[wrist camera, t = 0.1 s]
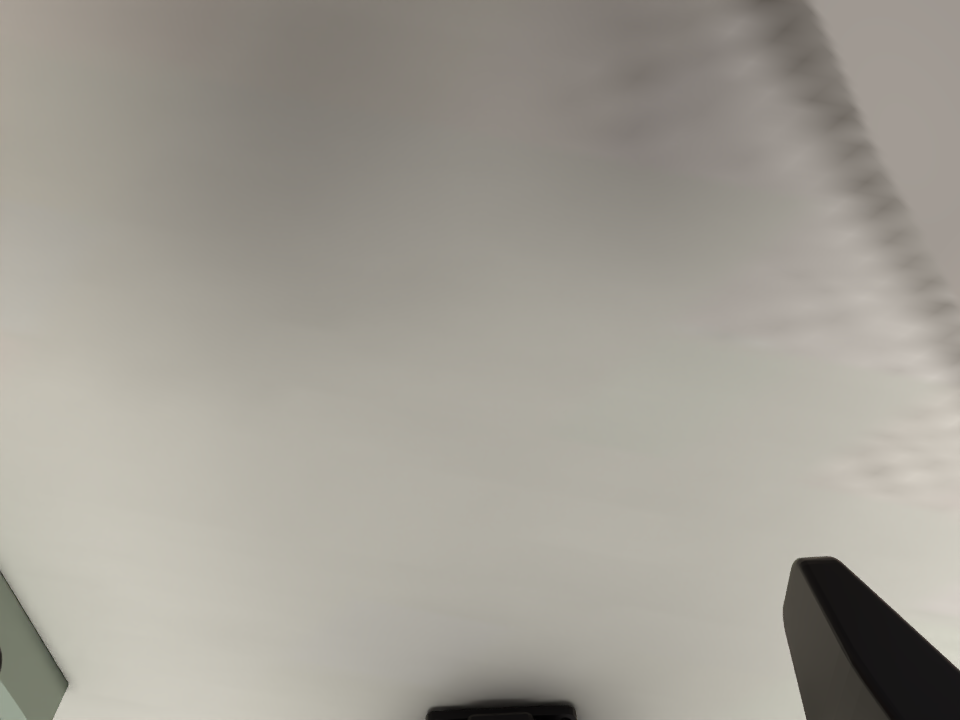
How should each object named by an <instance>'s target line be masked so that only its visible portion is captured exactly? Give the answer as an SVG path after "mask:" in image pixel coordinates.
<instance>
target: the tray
mask: <svg viewBox="0 0 960 720" xmlns="http://www.w3.org/2000/svg"><path fill="white" fill-rule="evenodd" d="M0 647H1V651H2V668H1V672H0V720H53V717H54V715H55V713H56V711H57V709H58V707H59V704H60V702H61V700H62V698H63V696H64V693H65V691H66V689H67V687H68V683H67V682H66V680H65V678H64V677H63V675H62V673H61V672H60V670H59V668H58V667H57V665H56V663H55V662H54V660H53V658H52V657H51V655H50V654H49V652H48V650H47V649H46V647H45V645H44V644H43V642H42V640H41V639H40V637H39V635H38V634H37V632H36V630H35V629H34V627H33V626H32V624H31V622H30V621H29V619H28V617H27V616H26V614H25V612H24V611H23V609H22V607H21V606H20V604H19V602H18V601H17V599H16V597H15V596H14V594H13V593H12V591H11V589H10V588H9V586H8V584H7V583H6V581H5V579H4V578H3V576H2V574H1V573H0Z"/></svg>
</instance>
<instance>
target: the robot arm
mask: <svg viewBox="0 0 960 720" xmlns="http://www.w3.org/2000/svg"><path fill="white" fill-rule="evenodd" d="M783 622H784V628H785V632H786V637H787V641H788V645H789V649H790V653H791V657H792V661H793V666H794V670H795V674H796V678H797V682H798V686H799V690H800V694H801V699H802V703H803V707H804V711H805V715H806V719H807V720H960V670H959V669H958V668H957V667H955V666H954V665H953V664H952V663H951V662H950V661H949V660H948V659H947V658H946V657H944V656H943V655H942V654H941V653H940V652H939V651H938V650H937V649H936V648H935V647H934V646H932V645H931V644H930V643H929V642H928V641H927V640H926V639H925V638H924V637H923V636H922V635H920V634H919V633H918V632H917V631H916V630H915V629H914V628H913V627H912V626H911V625H910V624H908V623H907V622H906V621H905V620H904V619H903V618H902V617H901V616H900V615H899V614H898V613H896V612H895V611H894V610H893V609H892V608H891V607H890V606H889V605H888V604H887V603H886V602H884V601H883V600H882V599H881V598H880V597H879V596H878V595H877V594H876V593H875V592H874V591H872V590H871V589H870V588H869V587H868V586H867V585H866V584H865V583H864V582H863V581H862V580H860V579H859V578H858V577H857V576H856V575H855V574H854V573H853V572H852V571H851V570H850V569H848V568H847V567H846V566H845V565H844V564H843V563H842V562H841V561H839V560H838V559H836V558H833V557H828V556H824V557H805V558H798V559H797V560H795V561H794V563H793V565H792V567H791V572H790V577H789V581H788V586H787V591H786V596H785V600H784V605H783ZM1 668H2V651H1V647H0V672H1ZM426 720H577V715H576V710H575V709H574V708H573V707H571V706H541V707H518V708H495V709H472V710H449V711H434V712H430V713H428V714H427V715H426Z"/></svg>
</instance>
